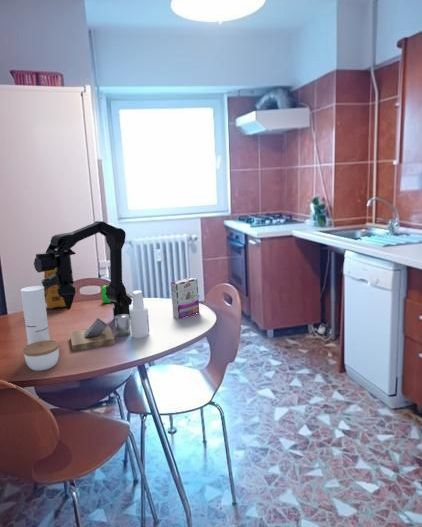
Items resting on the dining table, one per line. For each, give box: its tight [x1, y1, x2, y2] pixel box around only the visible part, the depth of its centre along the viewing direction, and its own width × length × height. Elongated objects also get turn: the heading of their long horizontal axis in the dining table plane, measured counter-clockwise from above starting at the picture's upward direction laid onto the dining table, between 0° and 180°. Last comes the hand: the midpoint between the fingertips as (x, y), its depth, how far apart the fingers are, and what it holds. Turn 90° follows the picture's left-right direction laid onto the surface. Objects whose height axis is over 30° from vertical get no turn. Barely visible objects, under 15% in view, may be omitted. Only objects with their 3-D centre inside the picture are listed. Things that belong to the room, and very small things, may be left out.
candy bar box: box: [170, 277, 200, 320], centre depth 184 cm, size 11×5×16 cm, turn 129°
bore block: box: [69, 325, 116, 352], centre depth 160 cm, size 15×15×3 cm
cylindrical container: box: [20, 285, 51, 345], centre depth 146 cm, size 7×7×25 cm
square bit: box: [84, 317, 108, 338], centre depth 160 cm, size 4×4×8 cm
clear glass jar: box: [114, 314, 132, 338], centre depth 165 cm, size 6×6×8 cm
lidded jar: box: [22, 339, 60, 372], centre depth 139 cm, size 11×11×9 cm
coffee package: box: [43, 268, 66, 309], centre depth 209 cm, size 10×12×22 cm
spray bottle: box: [129, 290, 150, 339], centre depth 162 cm, size 7×7×18 cm
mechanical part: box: [101, 285, 111, 304], centre depth 218 cm, size 12×6×8 cm, turn 162°
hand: (68, 306), depth 166 cm, fingers open, 9 cm apart
